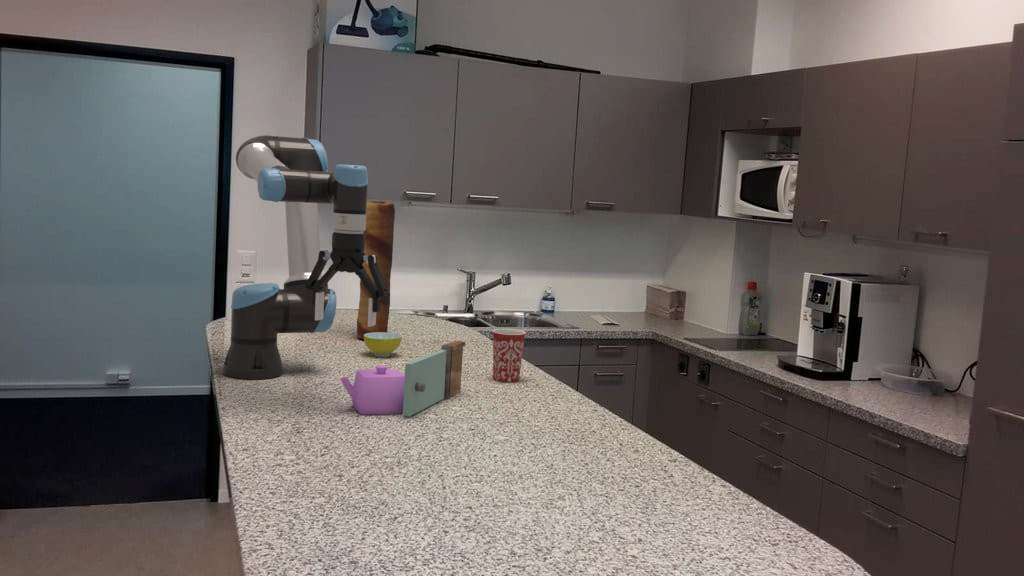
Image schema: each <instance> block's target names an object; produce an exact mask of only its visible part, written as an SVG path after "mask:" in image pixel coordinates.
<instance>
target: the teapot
mask: <svg viewBox="0 0 1024 576" xmlns="http://www.w3.org/2000/svg"><path fill="white" fill-rule="evenodd" d="M355 372H356V373H355V376H354V379H353V380H354V381H353V384H352V383H351V381H350V380H349V378H348V377H346V376H345V377H341V378H339V379H340V382H341V383H342V386H344V388H345V390H346V391H347V393H348V394H349V397H350V398H351V399H352V400H351V402H352V405H353V407H354V409H355V410H356V411H357V412H358V413H359V414H360V415H363V416H364V415H365V416H375V415H376V416H377V415H378V416H379V415H380V416H381V415H397V414H403V402H404V381H405V373H403V372H401V371H400V370H399V369H395V368H391V369H390V368H388V366H386V365H381V364H379V365H375V368H373V369H372V368H371V369H357V370H356V371H355Z"/></svg>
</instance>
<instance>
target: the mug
mask: <svg viewBox="0 0 1024 576" xmlns="http://www.w3.org/2000/svg"><path fill="white" fill-rule="evenodd" d="M492 333H493V335H492V336H493V342H492V347H493V348H492V349H493V353H492V379H493V380H494V381H496V382H501V383H516V382H517V383H518V382H519V381H520V376H521V367H522V360H523V353H524V352H523V351H524V344H525V337H526V335H527V333H526V331H524V330H522V329H521V330H520V329H516V328H515V329H514V328H495V329H493V330H492Z"/></svg>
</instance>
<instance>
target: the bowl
mask: <svg viewBox="0 0 1024 576" xmlns="http://www.w3.org/2000/svg"><path fill="white" fill-rule="evenodd" d="M402 338H403V336H402V335H401V334H398V333H394V332H387V333H385V332H374V333H366V334H364V339H363V341H364V344H365V346H366V347H367V349H368V350H370V352H373V353H374V356H375V357H377V358H387V357H390V356H391V353H393V352H395V351H396V350H397V349H398V348H399V347H400V345H401V343H402Z"/></svg>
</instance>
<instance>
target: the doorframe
mask: <svg viewBox="0 0 1024 576" xmlns="http://www.w3.org/2000/svg"><path fill="white" fill-rule="evenodd" d="M464 347H466V341H463V340H461V341H460V340H454V341H450V342H447V343H445V344H443V345H441V348H440V350H446V369H445V387H444V399H443V400H448V399H449V397H450V398H452V397H454V396H456V395H457V394H459V393H461V390H462V389H461V388H462V374H463V373H462V371H463V353H464Z"/></svg>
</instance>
